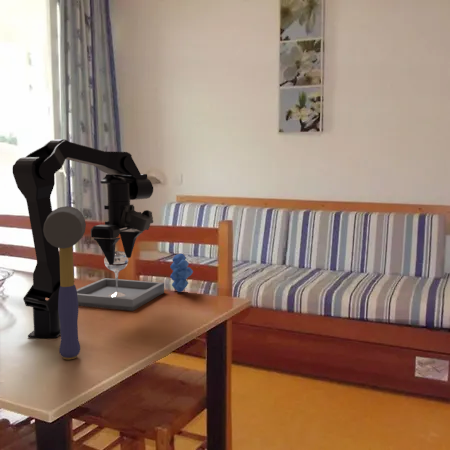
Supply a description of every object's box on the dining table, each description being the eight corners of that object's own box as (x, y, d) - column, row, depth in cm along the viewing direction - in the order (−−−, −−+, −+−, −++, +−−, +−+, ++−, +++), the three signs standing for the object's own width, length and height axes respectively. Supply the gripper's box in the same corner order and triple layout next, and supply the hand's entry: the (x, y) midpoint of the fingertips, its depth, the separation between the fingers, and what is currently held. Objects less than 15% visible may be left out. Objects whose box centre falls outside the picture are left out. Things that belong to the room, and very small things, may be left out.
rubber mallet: (53, 348, 106) (48, 204, 102) (90, 345, 107) (86, 204, 104) (46, 372, 94) (39, 210, 90) (88, 368, 95) (83, 209, 92)
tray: (132, 310, 133) (132, 299, 132) (66, 304, 139) (66, 293, 138) (164, 292, 152) (164, 282, 151) (104, 287, 158) (104, 278, 157)
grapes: (200, 295, 149) (200, 254, 147) (178, 297, 146) (177, 256, 145) (186, 286, 159) (186, 248, 158) (166, 288, 157) (165, 250, 155)
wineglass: (110, 291, 149) (109, 250, 147) (132, 292, 148) (131, 251, 146) (101, 297, 142) (99, 255, 141) (124, 298, 141) (123, 255, 140)
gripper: (130, 204, 120) (131, 269, 122) (162, 199, 137) (163, 256, 139) (88, 203, 123) (90, 267, 125) (125, 198, 141) (126, 254, 142)
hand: (120, 260), depth 133 cm, fingers open, 9 cm apart
